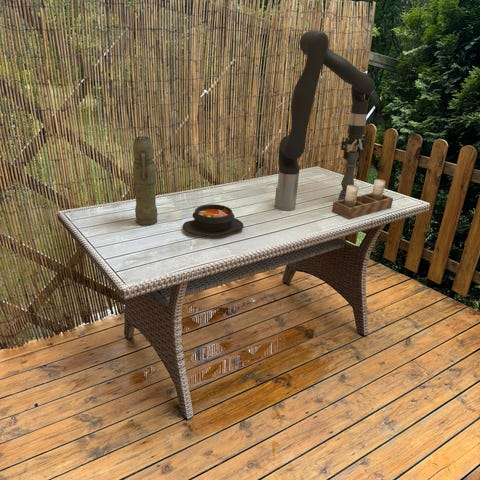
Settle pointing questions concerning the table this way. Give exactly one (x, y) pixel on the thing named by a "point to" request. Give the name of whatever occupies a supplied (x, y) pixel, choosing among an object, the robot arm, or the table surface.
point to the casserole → (213, 221)
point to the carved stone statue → (144, 181)
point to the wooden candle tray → (362, 201)
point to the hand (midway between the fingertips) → (351, 158)
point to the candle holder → (348, 173)
